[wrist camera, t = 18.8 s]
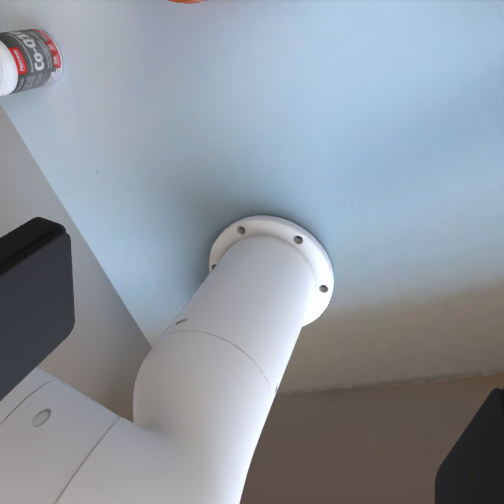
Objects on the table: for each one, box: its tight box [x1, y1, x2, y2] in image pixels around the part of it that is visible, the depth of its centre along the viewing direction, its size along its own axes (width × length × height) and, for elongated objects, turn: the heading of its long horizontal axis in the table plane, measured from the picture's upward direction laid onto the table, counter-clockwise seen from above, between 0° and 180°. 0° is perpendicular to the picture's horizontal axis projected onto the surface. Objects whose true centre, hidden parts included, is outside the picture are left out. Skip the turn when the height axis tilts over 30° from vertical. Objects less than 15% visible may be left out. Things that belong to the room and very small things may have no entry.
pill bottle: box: [0, 29, 63, 96], centre depth 40 cm, size 5×5×8 cm
